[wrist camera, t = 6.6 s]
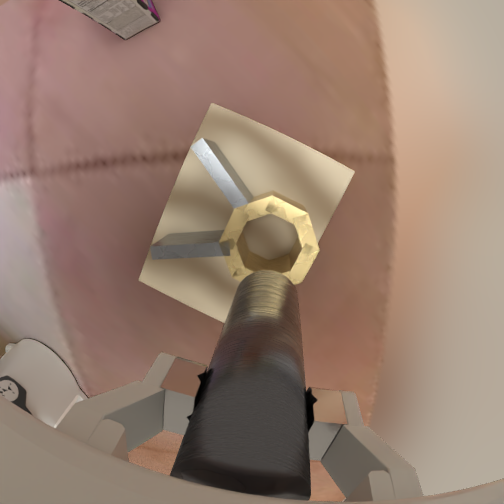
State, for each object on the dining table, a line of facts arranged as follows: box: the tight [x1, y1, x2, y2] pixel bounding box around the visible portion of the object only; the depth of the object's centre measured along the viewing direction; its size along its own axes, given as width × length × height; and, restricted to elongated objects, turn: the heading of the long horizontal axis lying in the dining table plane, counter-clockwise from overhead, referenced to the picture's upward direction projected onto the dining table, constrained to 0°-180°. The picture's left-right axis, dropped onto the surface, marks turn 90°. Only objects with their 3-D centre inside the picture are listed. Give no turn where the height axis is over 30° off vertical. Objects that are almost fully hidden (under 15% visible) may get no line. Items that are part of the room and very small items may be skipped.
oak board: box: [139, 103, 355, 323], centre depth 31 cm, size 20×15×2 cm
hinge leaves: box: [150, 138, 320, 285], centre depth 28 cm, size 11×13×5 cm
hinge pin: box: [170, 270, 311, 501], centre depth 11 cm, size 3×3×11 cm
